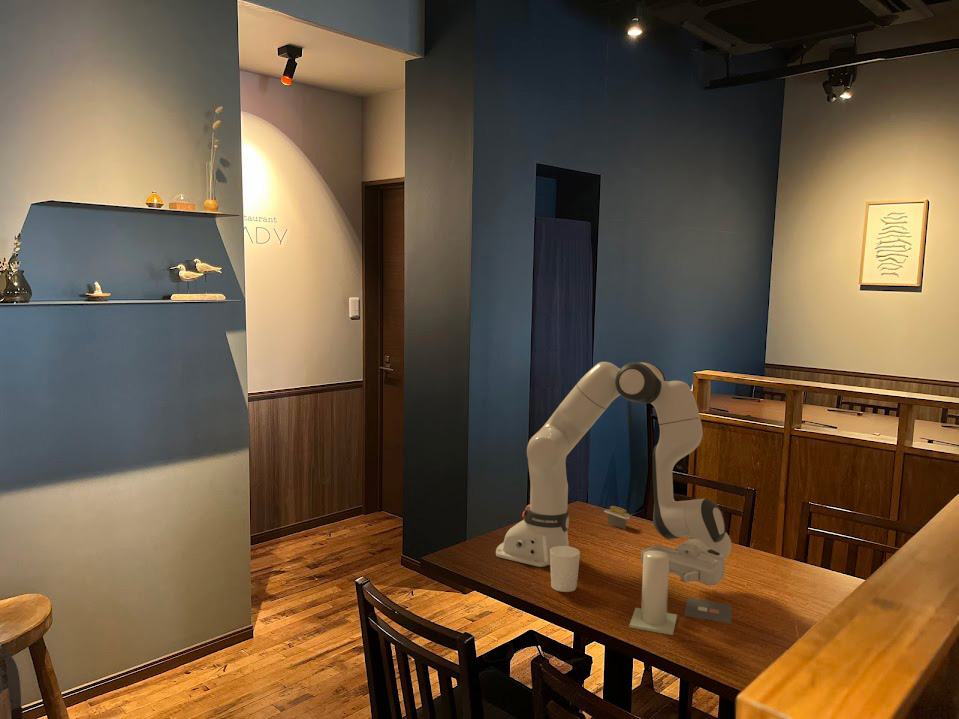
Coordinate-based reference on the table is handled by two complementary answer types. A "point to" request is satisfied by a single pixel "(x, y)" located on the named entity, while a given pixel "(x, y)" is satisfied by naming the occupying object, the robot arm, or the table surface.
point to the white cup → (564, 568)
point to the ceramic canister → (655, 587)
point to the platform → (617, 517)
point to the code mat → (708, 610)
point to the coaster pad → (665, 628)
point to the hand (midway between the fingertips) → (665, 573)
